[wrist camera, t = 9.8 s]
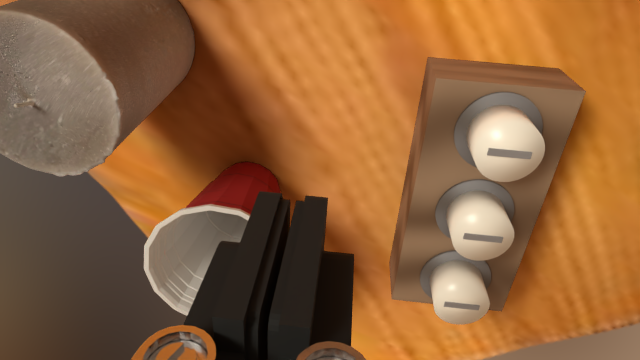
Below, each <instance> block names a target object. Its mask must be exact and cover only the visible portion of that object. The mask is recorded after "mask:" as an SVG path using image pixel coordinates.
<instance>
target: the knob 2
mask: <svg viewBox="0 0 640 360" xmlns="http://www.w3.org/2000/svg"><path fill="white" fill-rule="evenodd" d="M466 142H467V145H468V147H469V150H470V152H471V155H472V157H473V159H474V162H475V164H476V166H477V169H478V170H479V171H480V173H481V174H482V175H484V176H485V177H487V178H488V179H491V180H493V181H498V182H511V181H516V180H519V179H521V178H523V177H525V176H527V175H529V174H530V173H531V172H533V171H534V170H535V169H536V168H537V167H538V165H539V164H540V162H541V161H542V159H543V156H544V153H545V143H544V139H543V137H542V135H541V134H540V132H539V131H538V130H537V128H536V127H535V126H534V124H533V123H532V122H531V120H530V119H529V118H528V116H527V115H526V114H525V113H524V112H523V111H522V110H521V109H519V108H517V107H515V106H511V105H495V106H491V107H489V108H486V109H484V110H483V111H481V112H480V113H478V114H477V115H476V116H475V117H474V118H473V120H472V121H471V122H470V124H469V126H468V129H467V133H466Z"/></svg>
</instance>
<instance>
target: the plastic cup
mask: <svg viewBox="0 0 640 360" xmlns="http://www.w3.org/2000/svg"><path fill="white" fill-rule="evenodd" d="M260 191H263V192H273V193H281V192H280V188H279V185H278V181H277V179H276V178H275V176H274V175H273V174H272V173H271V171H270V170H268V169H266V168H265V167H263V166H261V165H260V164H256V163H251V162H242V163H236V164H234V165H232V166H231V167H229V168H227V169H226V170H224V171H223V172H222V173H221V174H220V175H219V176H218V177H217V178H216V179H215V180H214V181H213V182H211V183H210V184H209V185H208V186H207V187H206V188H205V189H204V190H203V191H202V192H201V193H200V194H199V195H198V196H197V197H196V198H195V199H194V200H193V201H192V202H191V203H190V204H189V205H188V206H187V207H186V208H184V209H181V210H179V211H178V212H176V213H174V214H173V215H171V216H170V217H168V218H167V219H165V220H163V221H162V222H160V223H159V224H157V225H156V227H155V228H154V230H153V232H152V233H151V235H150V237H149V239H148V240H147V242H146V244H145V245H144V270H145V273H146V274H147V277H148V279H149V281H150V283H151V285H152V287H153V289H154V291H155V292H156V293H157V294H158V295H159V296H160V297H161V298H162V299H163V300H164V301H165V302H166V303H168V304H169V305H170V306H171V307H172V308H173V309H174V310H176V311H178V312H181V313H182V314H185V315H188V313H189V311H190V308H191V306H192V304H193V301H194V299H195V297H196V294H197V292H198V290H199V288H200V285H201V283H202V281H203V278H204V276H205V274H206V271H207V269H208V267H209V265H210V262H211V260H212V258H213V255H214V253H215V251H216V248H217V246H218V244H219V243H220V242H221V241H230V242H240V241H241V238H242V236H243V233H244V230H245V228H246V225H247V222H248V220H249V217H250V214H251V212H252V209H253V206H254V204H255V201H256V198H257V196H258V193H259V192H260Z"/></svg>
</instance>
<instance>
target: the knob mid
mask: <svg viewBox="0 0 640 360" xmlns="http://www.w3.org/2000/svg"><path fill="white" fill-rule="evenodd" d="M446 220H447V224H448V228H449V232H450V236H451V240H452V244H453V247H454V248H455V250H456V251H457V252H458V253H459V254H460V255H461V256H463V257H465V258H467V259H471V260H476V261H484V260H489V259H493V258H496V257H498V256H500V255H501V254H503V253H504V252H505V251H507V250H508V248H509V247H510V246H511V244H512V242H513V240H514V229H513V226H512V224H511V222H510V220H509V218H508V215H507V213H506V211H505V209H504V207H503V204H502V202H501V201H500V199H499V198H498V197H497V196H495V195H494V194H492V193H490V192H486V191H480V190H476V191H469V192H466V193H463V194H461V195H459V196H458V197H456V198H455V199H454V200H453V201H452V202H451V203H450V205H449V206H448V208H447V212H446Z"/></svg>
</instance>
